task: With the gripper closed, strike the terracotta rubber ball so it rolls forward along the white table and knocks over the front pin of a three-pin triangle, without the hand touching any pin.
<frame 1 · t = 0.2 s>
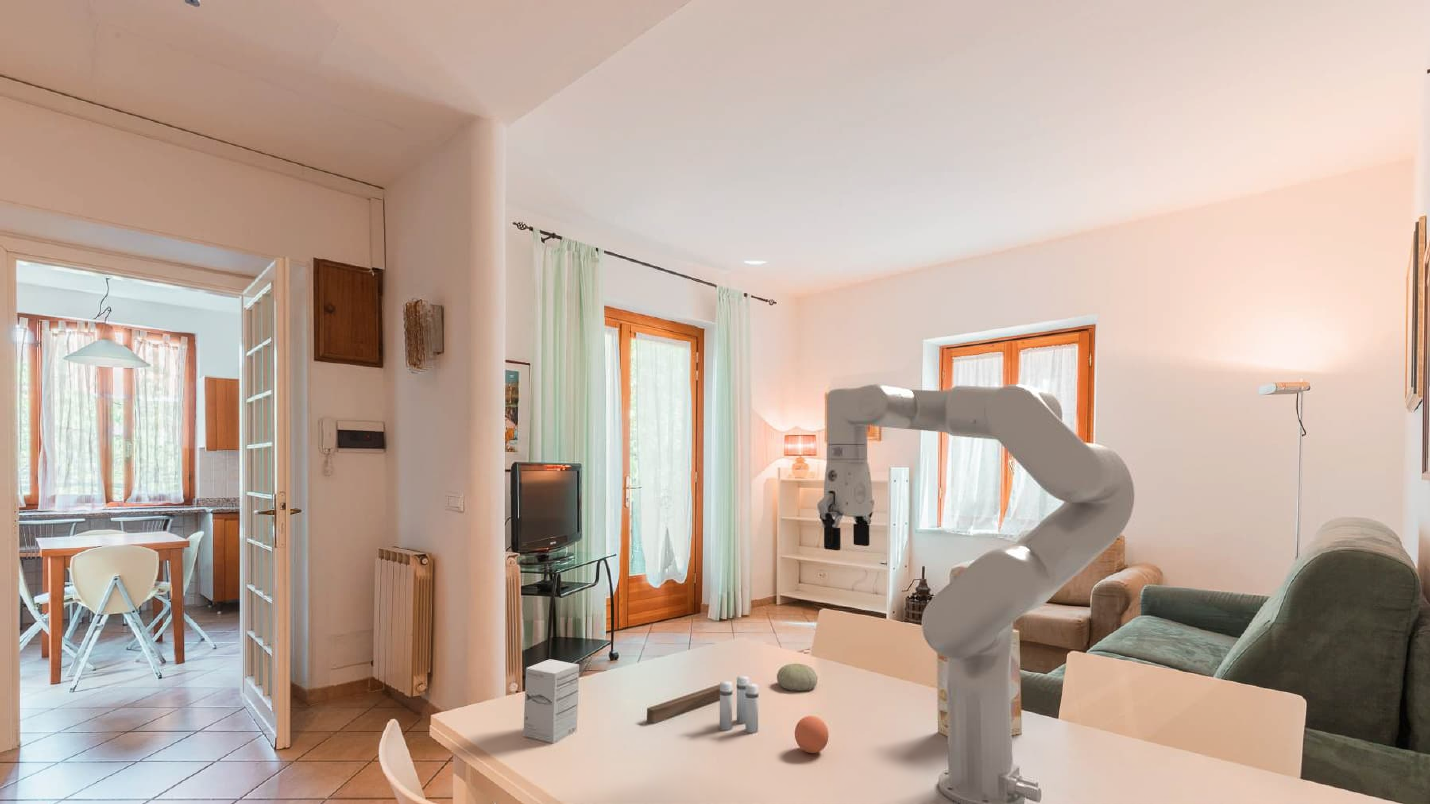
hand: (847, 547, 127), 36 cm above the table, tool pointing down, fingers open, 9 cm apart
left back pin: (725, 727, 134), on the table
back wall: (689, 708, 144), on the table
supplement box: (550, 735, 130), on the table
right back pin: (742, 721, 137), on the table
sea urchin shell: (797, 687, 159), on the table
front pin: (751, 730, 132), on the table
coffeecake box: (980, 734, 132), on the table
ball: (811, 734, 123), on the table
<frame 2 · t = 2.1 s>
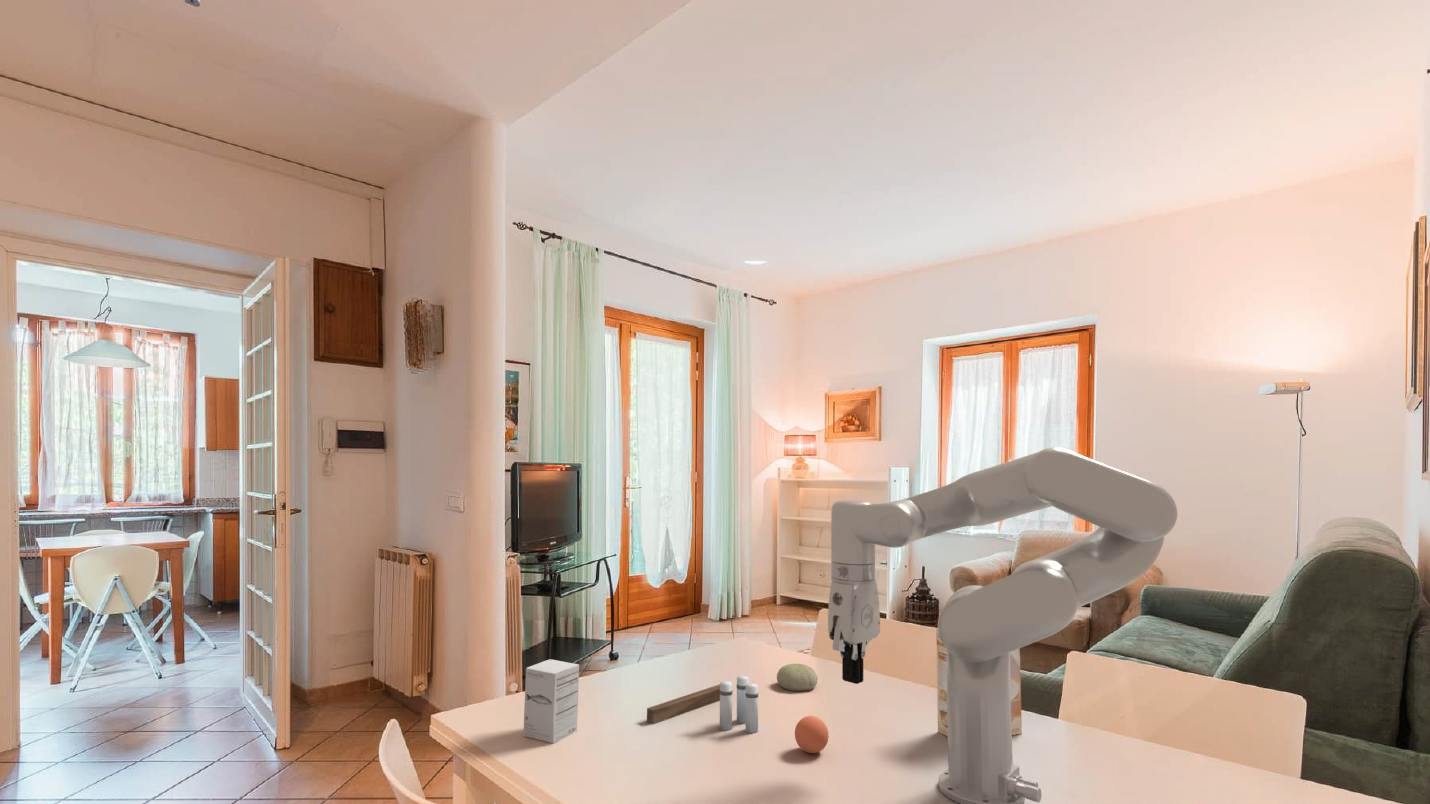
hand: (852, 681, 118), 14 cm above the table, tool pointing down, fingers closed
nothing on the table moved.
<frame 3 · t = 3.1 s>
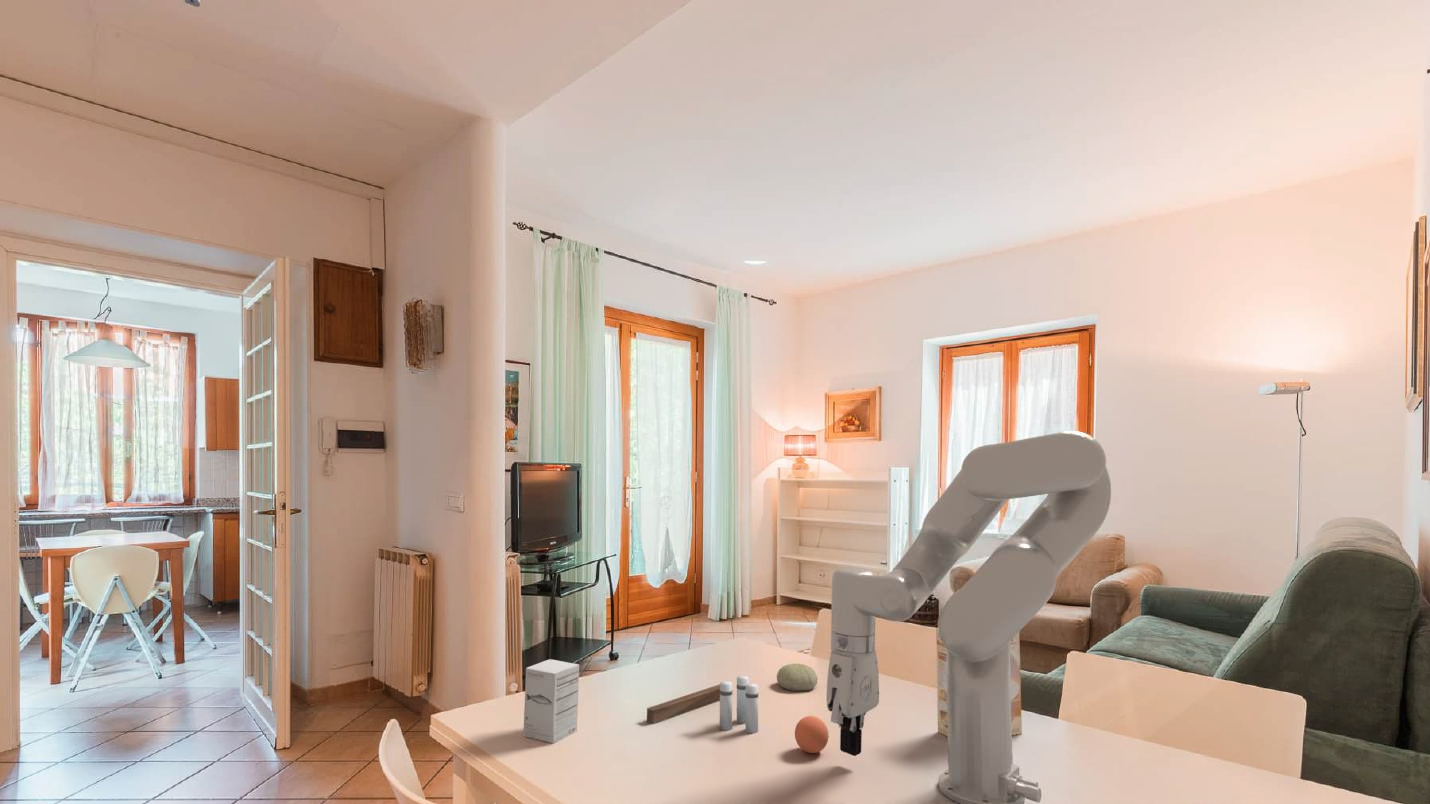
hand: (850, 751, 117), 2 cm above the table, tool pointing down, fingers closed
nothing on the table moved.
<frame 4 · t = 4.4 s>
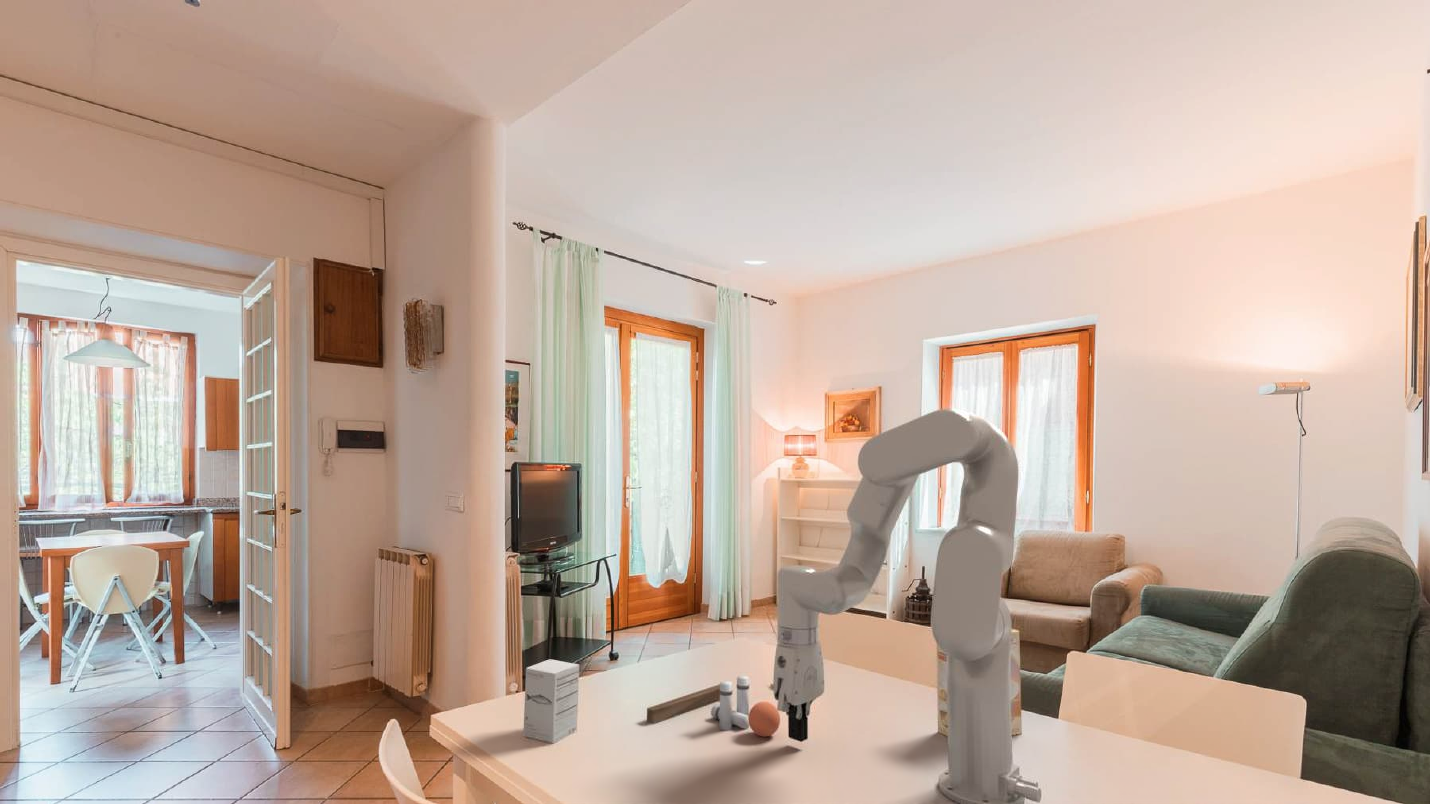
hand: (798, 738, 125), 2 cm above the table, tool pointing down, fingers closed
front pin: (746, 722, 134), point 1 cm above the table, tilted 90°
ball: (764, 718, 130), on the table
everything else where it was.
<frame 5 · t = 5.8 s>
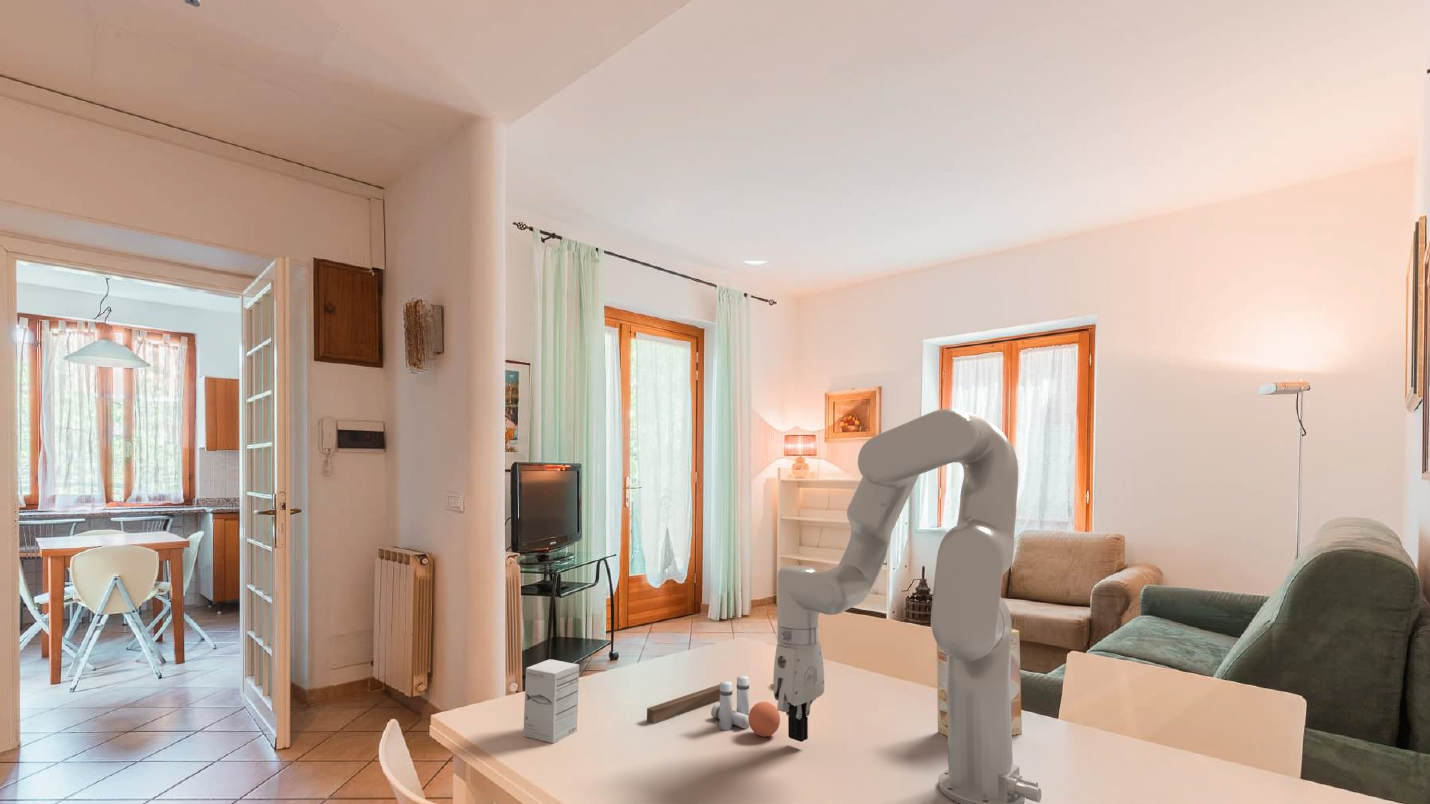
hand: (798, 738, 125), 2 cm above the table, tool pointing down, fingers closed
nothing on the table moved.
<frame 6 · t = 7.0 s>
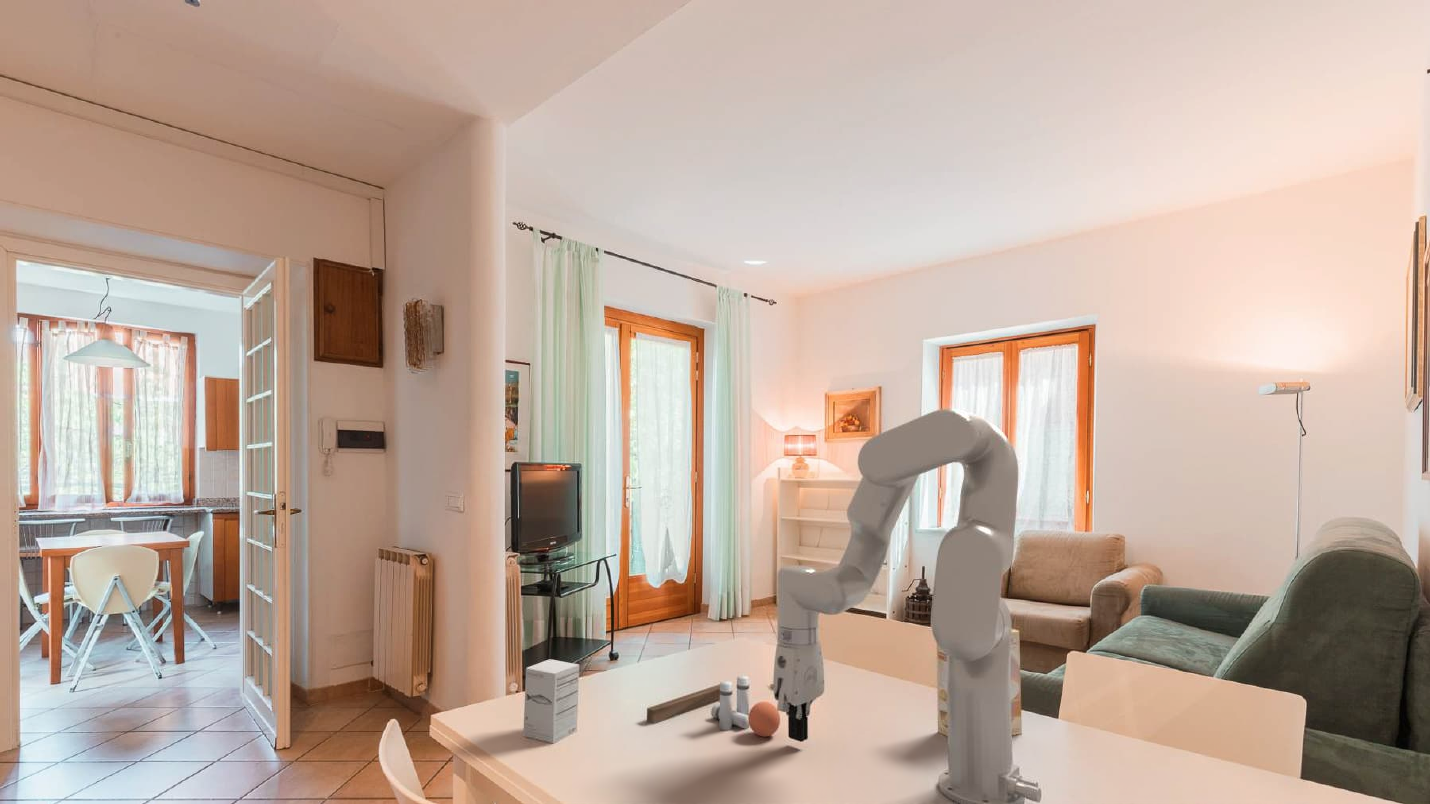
hand: (798, 738, 125), 2 cm above the table, tool pointing down, fingers closed
nothing on the table moved.
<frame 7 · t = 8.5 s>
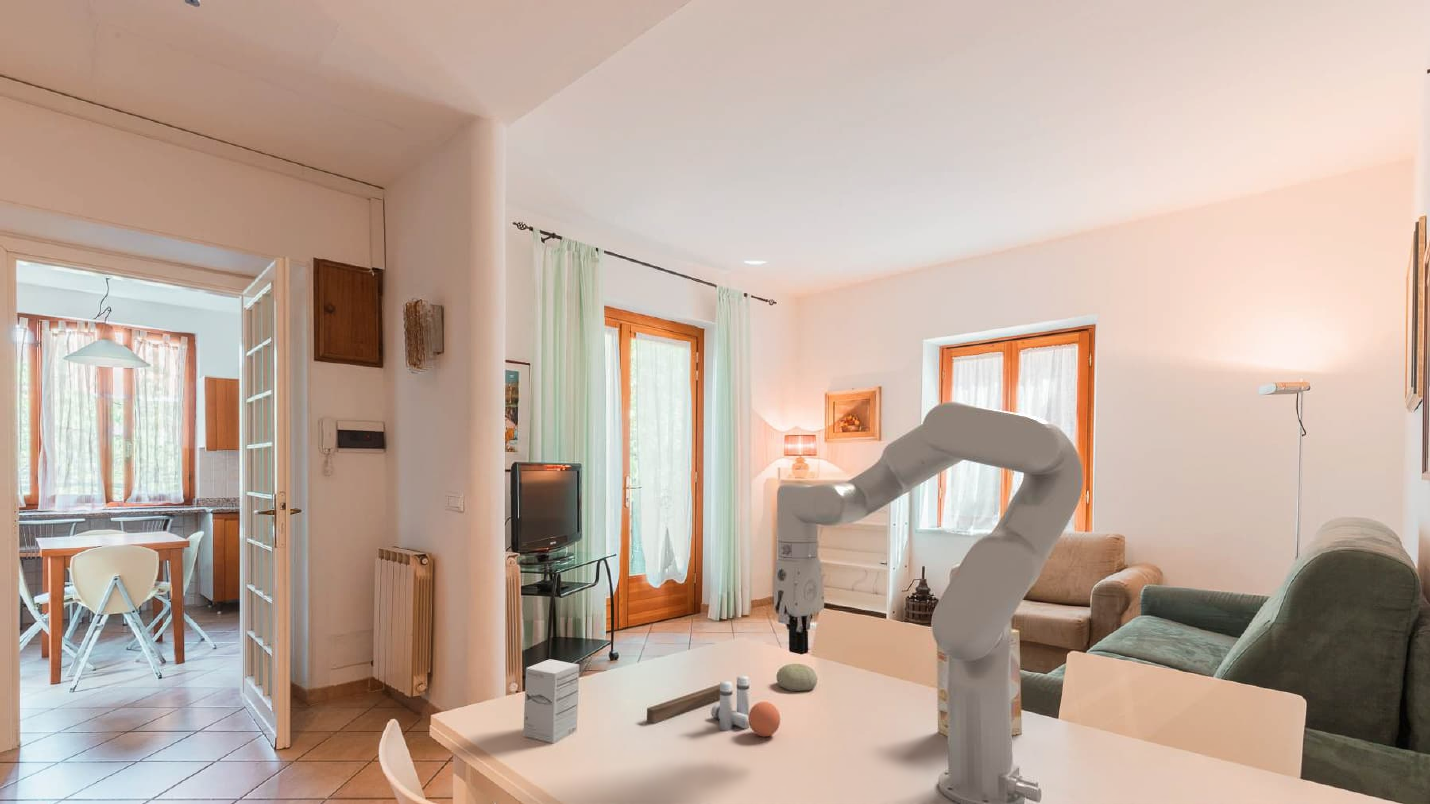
hand: (798, 652, 126), 17 cm above the table, tool pointing down, fingers closed
nothing on the table moved.
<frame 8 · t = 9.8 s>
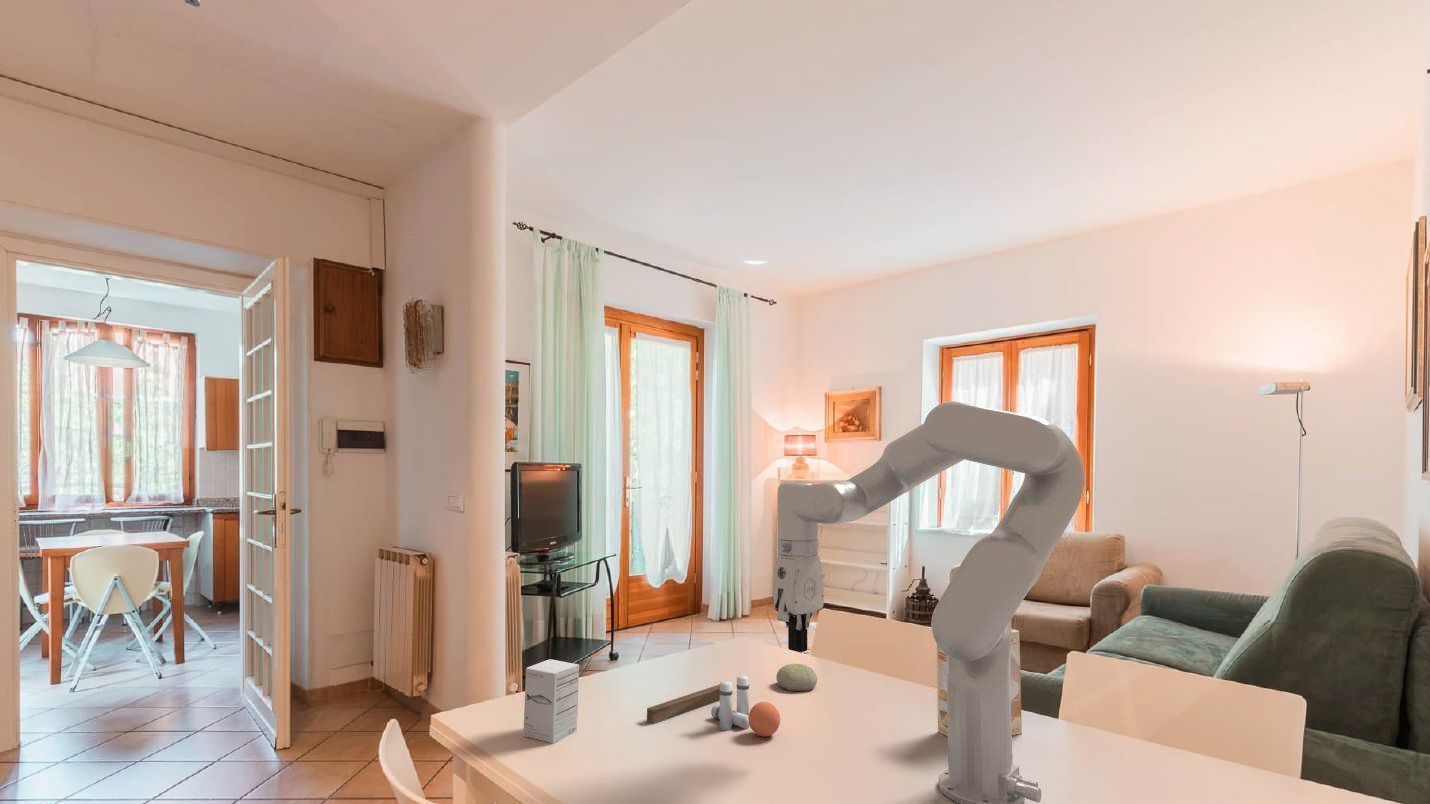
hand: (797, 650, 126), 17 cm above the table, tool pointing down, fingers closed
nothing on the table moved.
at the end: front pin tilted 90°; front pin never touched the robot; ball moved 10.8 cm from its start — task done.
